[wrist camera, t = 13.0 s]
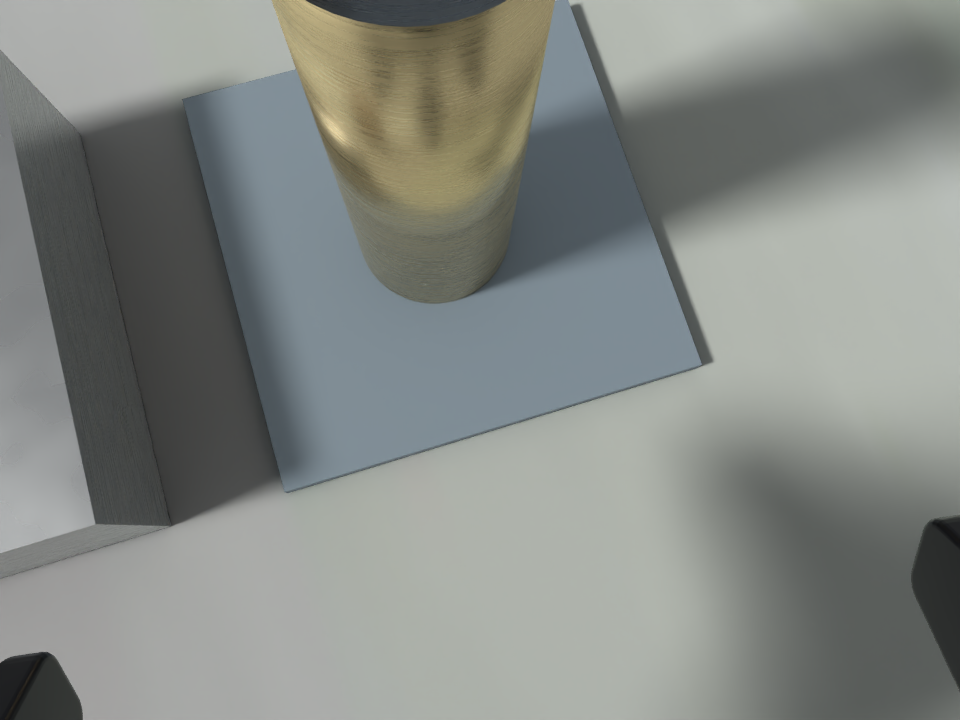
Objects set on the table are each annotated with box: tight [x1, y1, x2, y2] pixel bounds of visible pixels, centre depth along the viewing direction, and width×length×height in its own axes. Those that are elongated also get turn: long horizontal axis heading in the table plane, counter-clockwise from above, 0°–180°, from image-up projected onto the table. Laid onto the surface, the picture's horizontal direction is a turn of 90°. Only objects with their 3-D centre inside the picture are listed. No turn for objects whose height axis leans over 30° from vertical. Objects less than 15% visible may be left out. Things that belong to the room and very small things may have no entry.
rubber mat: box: [182, 0, 702, 493], centre depth 20 cm, size 10×10×1 cm
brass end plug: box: [272, 0, 555, 304], centre depth 14 cm, size 4×4×13 cm
